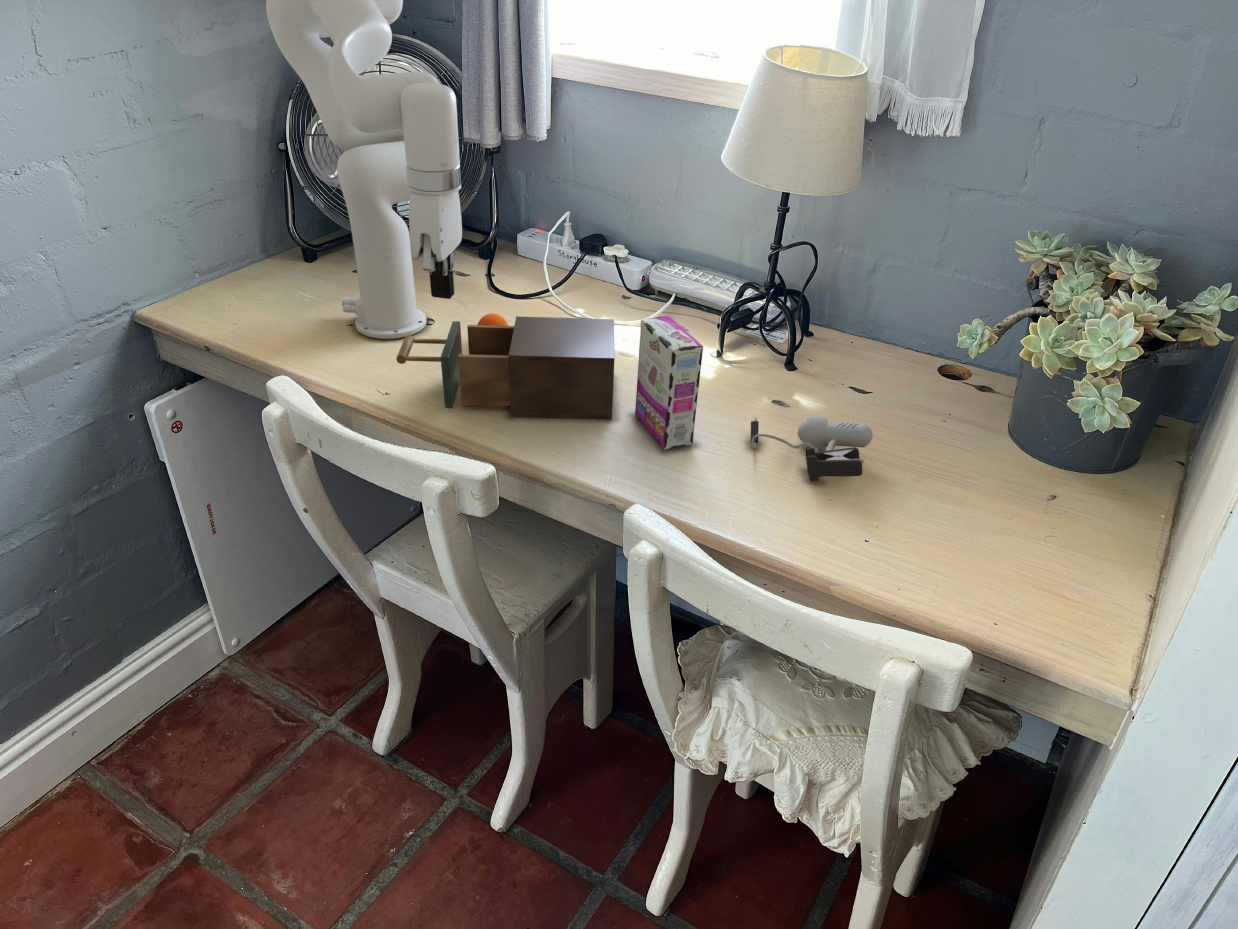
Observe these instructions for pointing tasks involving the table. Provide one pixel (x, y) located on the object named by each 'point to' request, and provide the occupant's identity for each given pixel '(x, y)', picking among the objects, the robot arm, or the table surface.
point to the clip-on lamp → (829, 434)
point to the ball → (492, 320)
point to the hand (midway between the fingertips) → (443, 295)
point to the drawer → (471, 364)
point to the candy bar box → (668, 381)
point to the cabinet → (562, 368)
